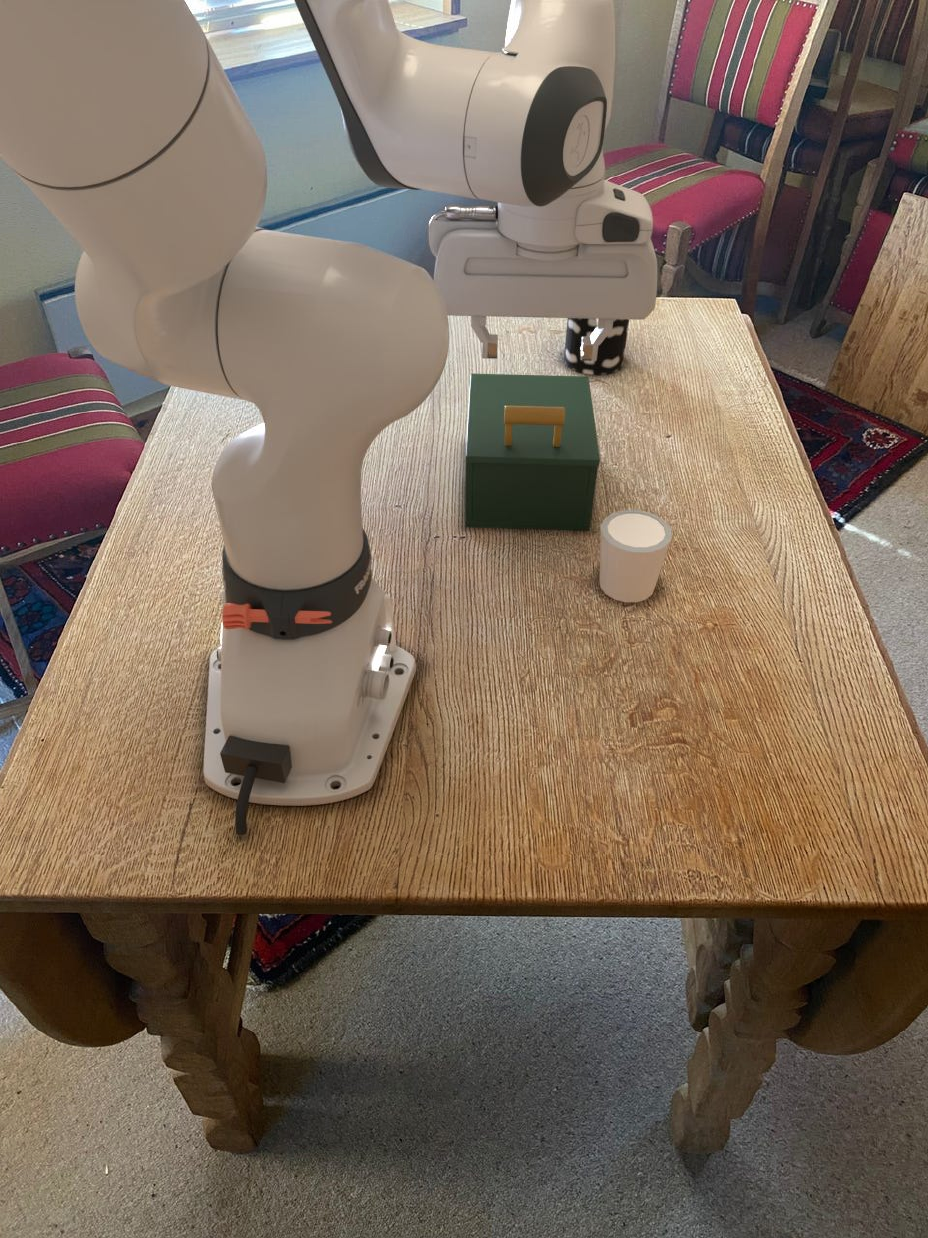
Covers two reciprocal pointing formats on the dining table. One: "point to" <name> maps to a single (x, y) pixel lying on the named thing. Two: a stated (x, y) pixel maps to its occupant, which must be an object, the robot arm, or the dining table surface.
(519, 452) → the lid
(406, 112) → the robot arm
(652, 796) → the dining table surface
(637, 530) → the shot glass
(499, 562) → the dining table surface
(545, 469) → the chest
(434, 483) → the dining table surface
